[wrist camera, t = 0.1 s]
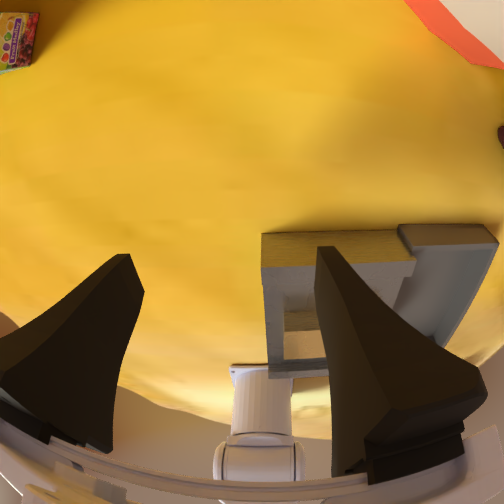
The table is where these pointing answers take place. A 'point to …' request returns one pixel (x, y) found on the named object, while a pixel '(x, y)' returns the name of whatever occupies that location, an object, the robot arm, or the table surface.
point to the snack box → (16, 39)
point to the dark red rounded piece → (501, 135)
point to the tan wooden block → (302, 336)
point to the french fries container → (466, 27)
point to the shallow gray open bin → (303, 276)
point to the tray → (443, 275)
